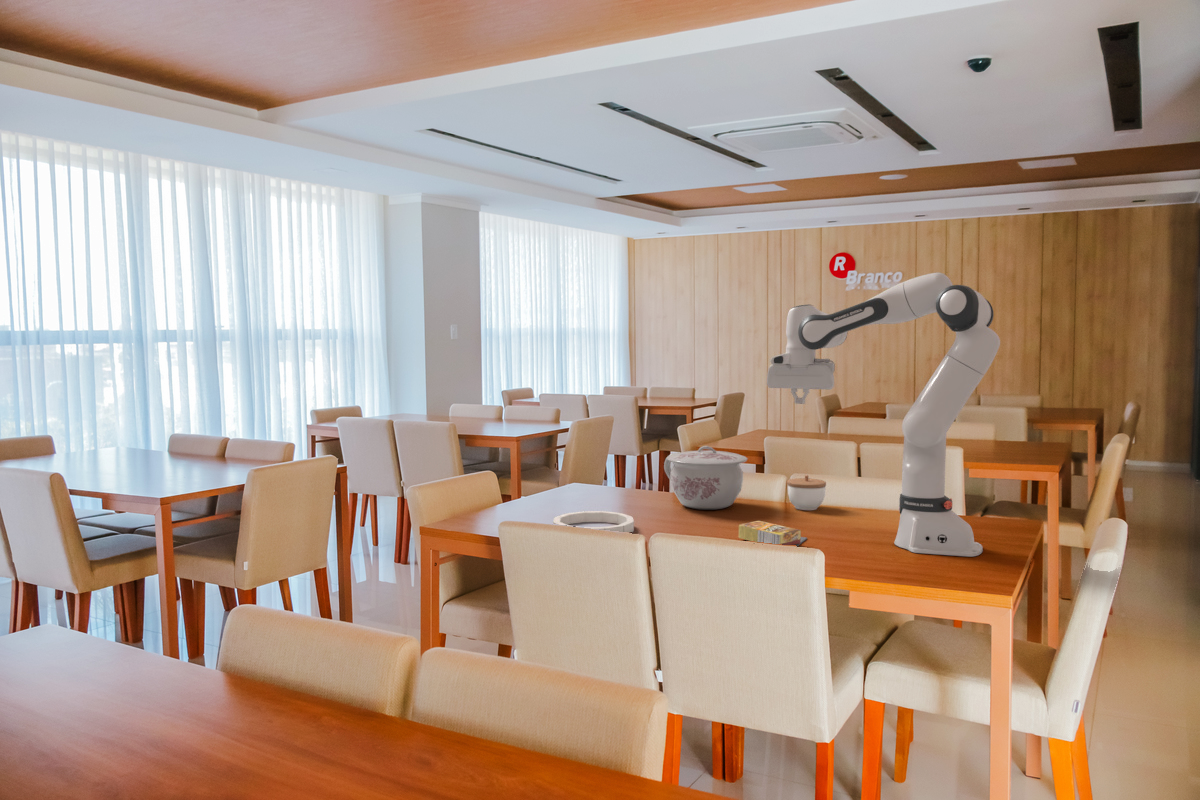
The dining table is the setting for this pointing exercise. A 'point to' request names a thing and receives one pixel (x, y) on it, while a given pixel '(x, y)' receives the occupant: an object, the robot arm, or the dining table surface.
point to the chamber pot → (705, 477)
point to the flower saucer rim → (598, 520)
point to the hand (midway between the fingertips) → (799, 403)
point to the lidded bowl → (806, 492)
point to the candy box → (769, 533)
